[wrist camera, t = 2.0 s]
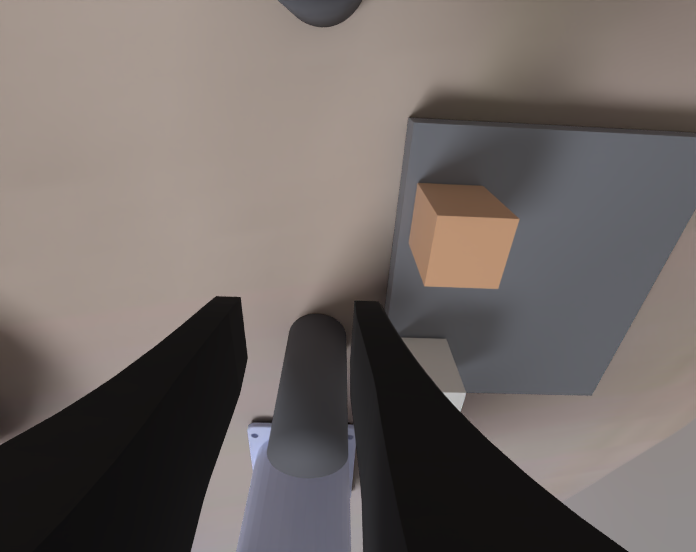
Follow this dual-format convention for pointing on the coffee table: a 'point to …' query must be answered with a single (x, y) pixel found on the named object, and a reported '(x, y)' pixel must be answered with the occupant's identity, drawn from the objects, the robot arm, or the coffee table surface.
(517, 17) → the coffee table surface
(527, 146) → the flat gray rectangular panel
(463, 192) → the tan wooden cube
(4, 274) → the coffee table surface
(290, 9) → the post
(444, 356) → the plain white brick
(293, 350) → the cylinder
